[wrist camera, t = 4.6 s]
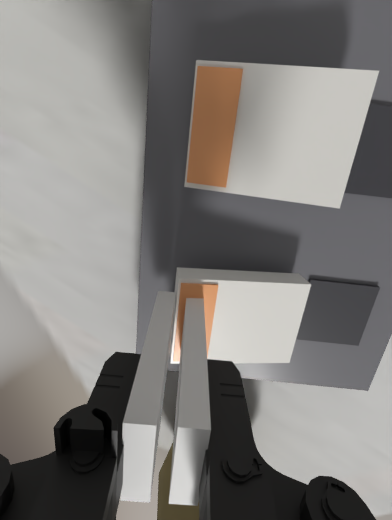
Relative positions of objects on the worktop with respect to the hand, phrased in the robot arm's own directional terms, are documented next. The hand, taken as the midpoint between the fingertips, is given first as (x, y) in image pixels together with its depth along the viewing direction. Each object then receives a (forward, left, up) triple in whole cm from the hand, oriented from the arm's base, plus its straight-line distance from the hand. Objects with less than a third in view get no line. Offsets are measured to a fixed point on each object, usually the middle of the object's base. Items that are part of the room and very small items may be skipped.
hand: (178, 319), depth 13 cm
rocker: (-3, 0, -1) cm, 3 cm away
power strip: (-8, -8, -6) cm, 13 cm away
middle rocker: (-3, -8, -1) cm, 9 cm away
